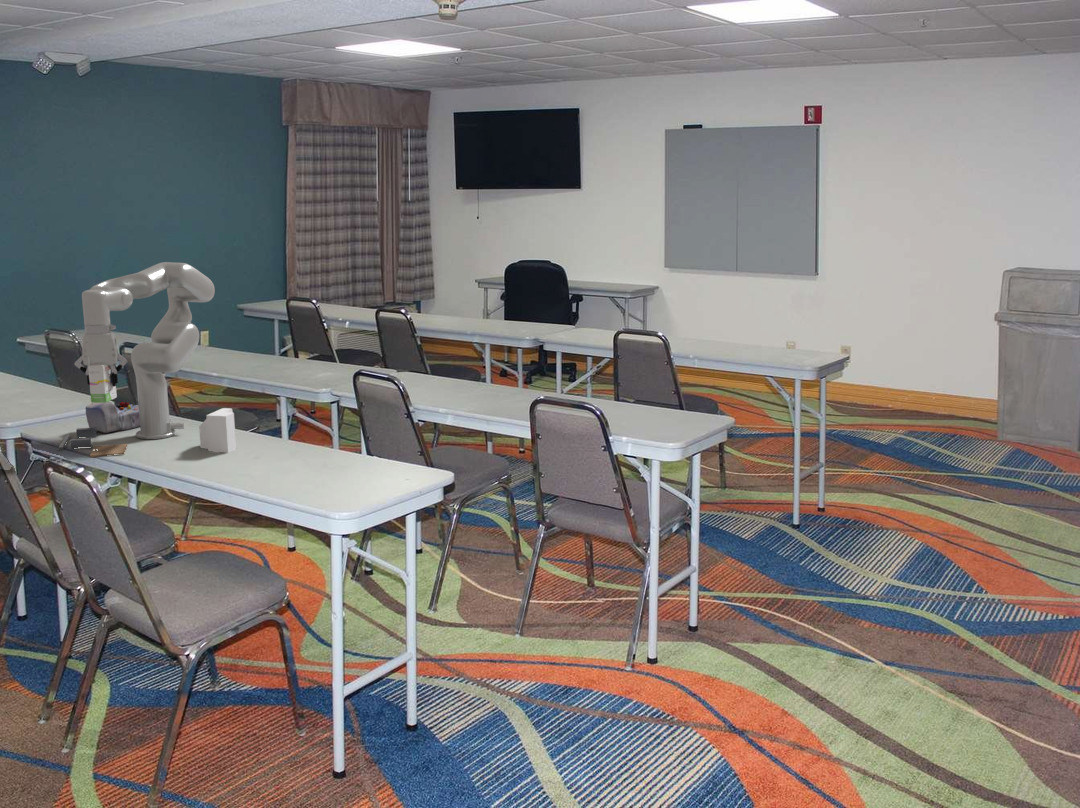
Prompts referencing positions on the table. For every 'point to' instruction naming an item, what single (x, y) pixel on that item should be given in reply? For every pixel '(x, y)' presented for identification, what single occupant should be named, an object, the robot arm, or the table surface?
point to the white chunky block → (218, 431)
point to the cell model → (112, 416)
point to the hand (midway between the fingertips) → (103, 385)
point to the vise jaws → (80, 442)
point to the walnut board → (108, 450)
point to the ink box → (101, 383)
